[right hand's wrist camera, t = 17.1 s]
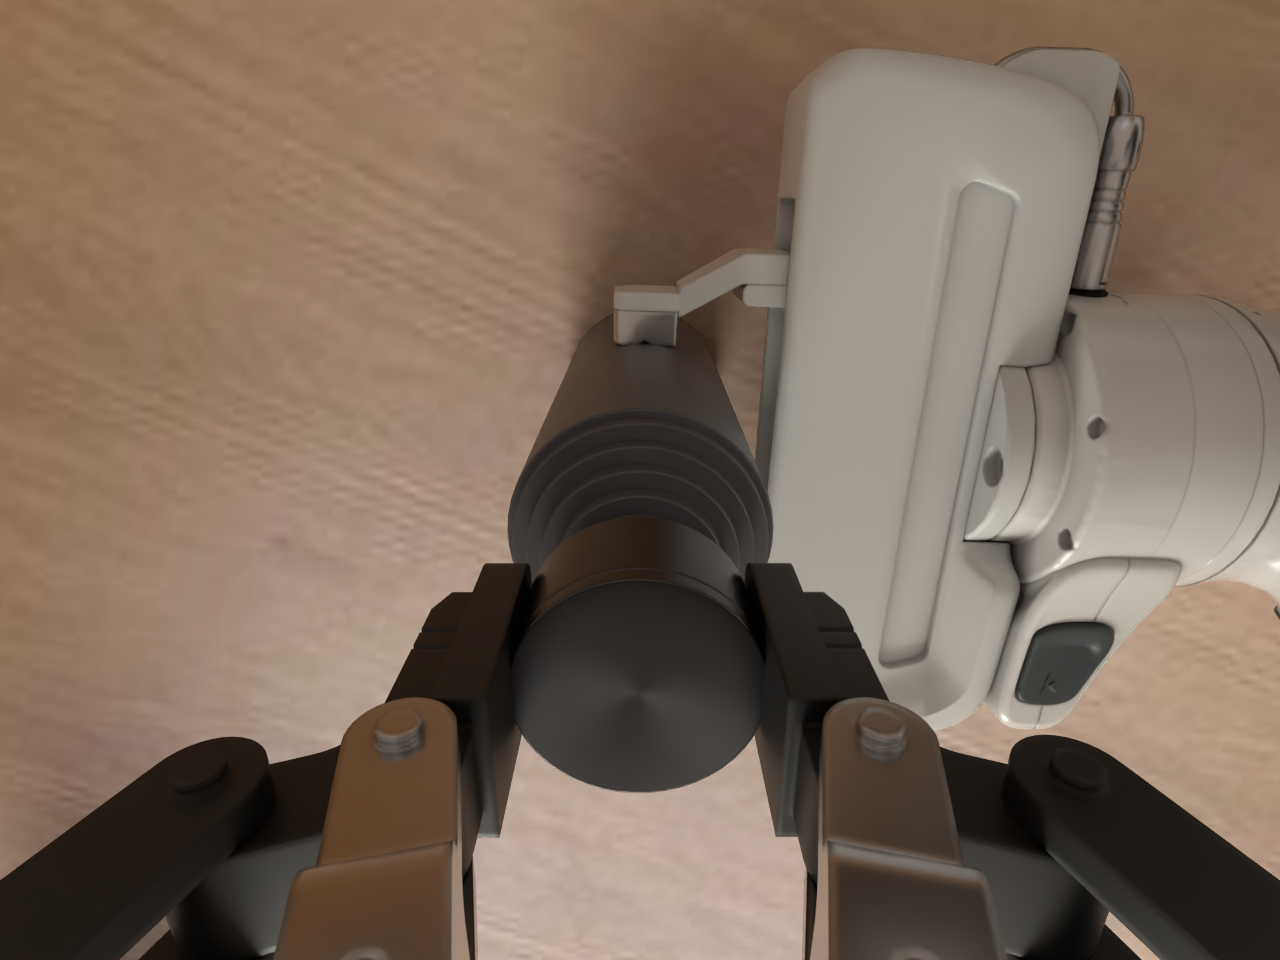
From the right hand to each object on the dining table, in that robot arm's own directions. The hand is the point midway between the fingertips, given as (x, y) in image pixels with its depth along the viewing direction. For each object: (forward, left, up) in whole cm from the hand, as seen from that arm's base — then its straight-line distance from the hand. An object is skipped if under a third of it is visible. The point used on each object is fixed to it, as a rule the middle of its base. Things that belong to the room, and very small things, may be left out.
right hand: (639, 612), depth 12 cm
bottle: (0, 0, -16) cm, 16 cm away
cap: (0, 0, +2) cm, 2 cm away
